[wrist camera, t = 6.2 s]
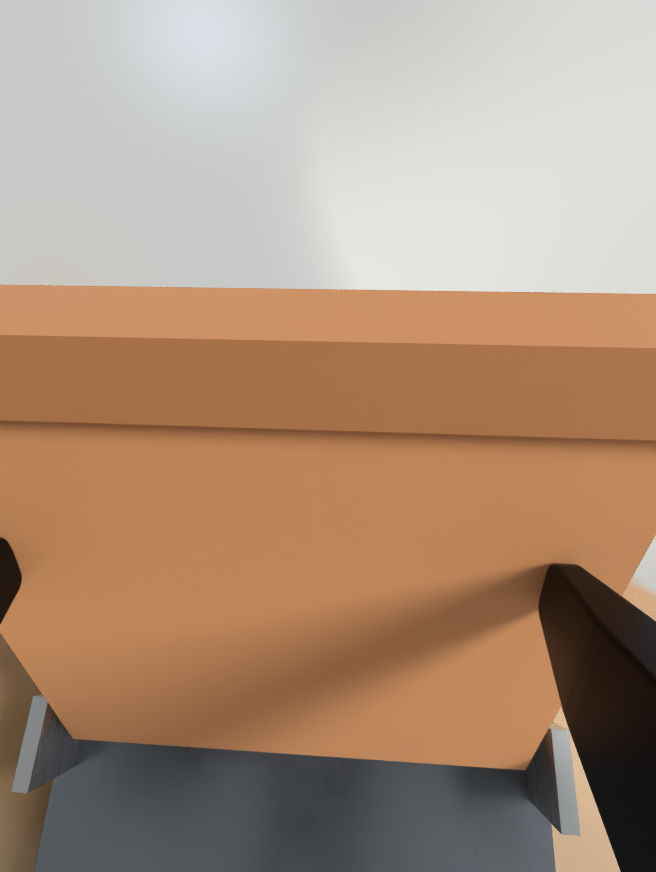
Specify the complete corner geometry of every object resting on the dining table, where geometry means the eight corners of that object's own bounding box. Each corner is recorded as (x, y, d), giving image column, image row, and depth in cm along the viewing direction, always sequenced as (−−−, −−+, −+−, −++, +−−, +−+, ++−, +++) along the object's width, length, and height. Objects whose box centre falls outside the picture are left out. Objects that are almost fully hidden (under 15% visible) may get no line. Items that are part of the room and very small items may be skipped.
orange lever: (531, 780, 11) (783, 350, 5) (65, 747, 12) (-238, 330, 6) (513, 702, 13) (689, 294, 7) (97, 677, 14) (-114, 282, 7)
